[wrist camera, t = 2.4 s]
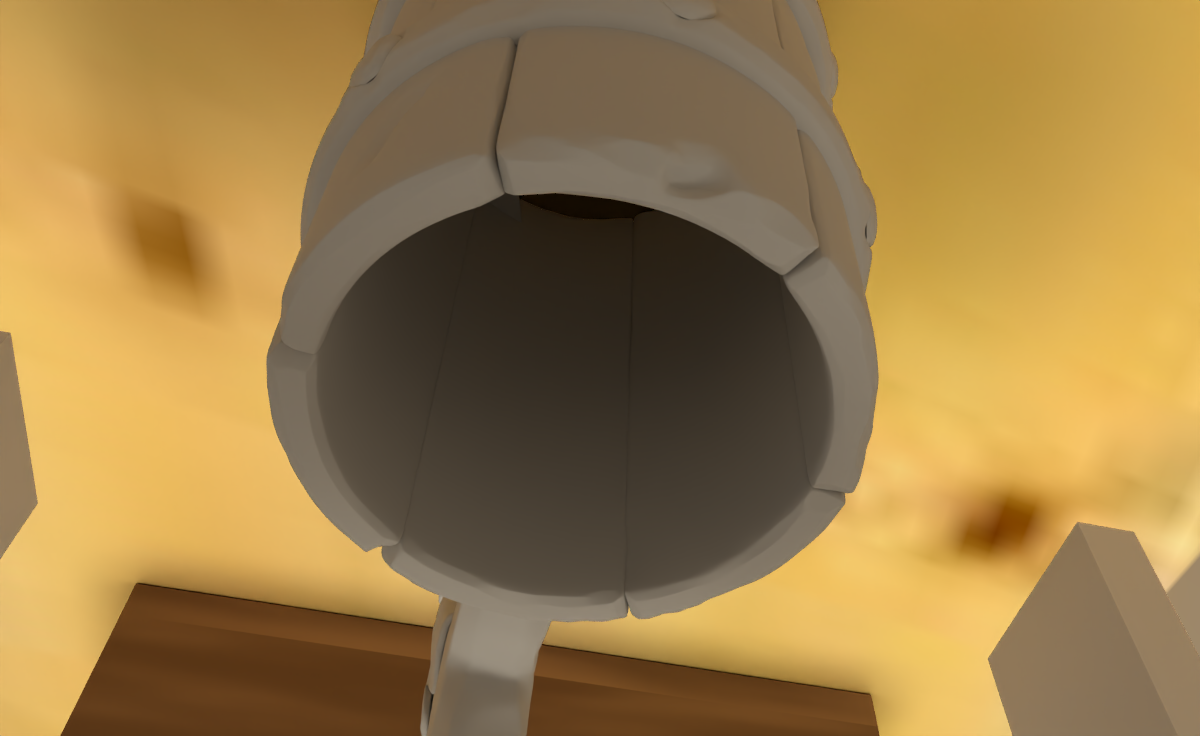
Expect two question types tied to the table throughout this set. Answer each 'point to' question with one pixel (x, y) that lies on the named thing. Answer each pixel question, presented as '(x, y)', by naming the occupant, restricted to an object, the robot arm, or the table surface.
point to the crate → (398, 682)
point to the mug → (578, 318)
